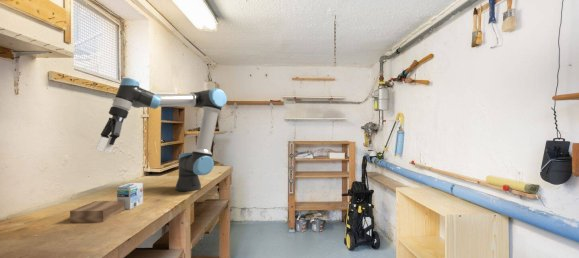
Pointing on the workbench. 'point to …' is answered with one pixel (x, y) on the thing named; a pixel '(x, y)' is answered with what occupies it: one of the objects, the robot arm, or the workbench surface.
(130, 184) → the light bulb box
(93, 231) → the workbench surface
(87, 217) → the walnut block
